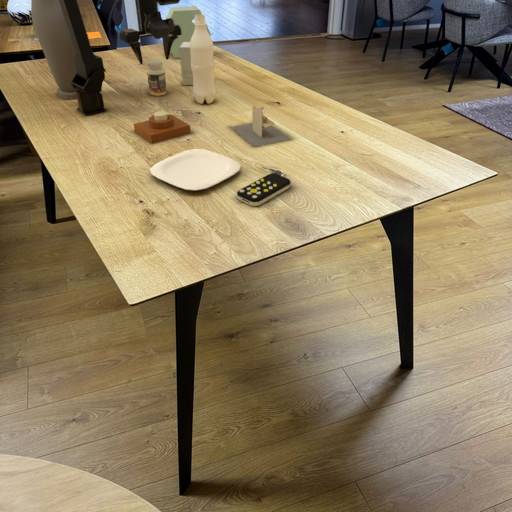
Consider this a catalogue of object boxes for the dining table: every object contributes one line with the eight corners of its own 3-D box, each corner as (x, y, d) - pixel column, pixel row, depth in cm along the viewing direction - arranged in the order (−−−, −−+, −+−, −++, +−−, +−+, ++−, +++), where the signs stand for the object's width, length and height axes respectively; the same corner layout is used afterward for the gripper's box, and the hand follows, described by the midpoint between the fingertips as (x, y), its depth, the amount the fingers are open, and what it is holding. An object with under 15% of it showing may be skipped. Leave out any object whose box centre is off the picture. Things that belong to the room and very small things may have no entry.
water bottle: (212, 106, 149) (208, 18, 134) (190, 104, 150) (183, 17, 135) (218, 98, 155) (215, 13, 140) (197, 97, 156) (191, 12, 141)
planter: (189, 63, 204) (213, 18, 196) (193, 68, 198) (218, 21, 190) (153, 42, 195) (177, -7, 187) (156, 47, 189) (180, -3, 181)
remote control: (293, 187, 107) (293, 179, 106) (255, 208, 100) (255, 200, 99) (272, 178, 111) (272, 170, 109) (234, 198, 103) (233, 190, 102)
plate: (196, 150, 123) (195, 144, 122) (250, 171, 114) (250, 164, 112) (141, 175, 111) (140, 169, 110) (196, 200, 102) (195, 194, 101)
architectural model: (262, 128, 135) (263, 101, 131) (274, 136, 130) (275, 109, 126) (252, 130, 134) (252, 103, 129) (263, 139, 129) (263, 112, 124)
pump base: (151, 143, 126) (149, 128, 124) (134, 131, 133) (132, 117, 130) (190, 132, 132) (189, 118, 130) (172, 121, 139) (171, 108, 136)
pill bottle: (146, 94, 158) (142, 63, 152) (156, 89, 162) (153, 59, 156) (160, 97, 156) (156, 65, 150) (170, 92, 160) (167, 61, 154)
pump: (158, 123, 128) (157, 116, 127) (152, 119, 131) (151, 112, 130) (170, 120, 130) (169, 113, 129) (163, 116, 132) (163, 110, 131)
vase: (94, 97, 155) (69, -27, 134) (52, 102, 151) (19, -25, 130) (89, 85, 165) (65, -32, 144) (50, 90, 161) (19, -30, 140)
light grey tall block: (206, 79, 171) (204, 41, 164) (202, 85, 165) (200, 47, 158) (186, 78, 172) (183, 41, 164) (182, 85, 166) (178, 46, 158)
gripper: (131, 15, 134) (139, 72, 143) (188, 8, 143) (192, 62, 152) (114, 9, 141) (123, 64, 150) (170, 2, 150) (175, 55, 159)
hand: (154, 61), depth 153 cm, fingers open, 9 cm apart
